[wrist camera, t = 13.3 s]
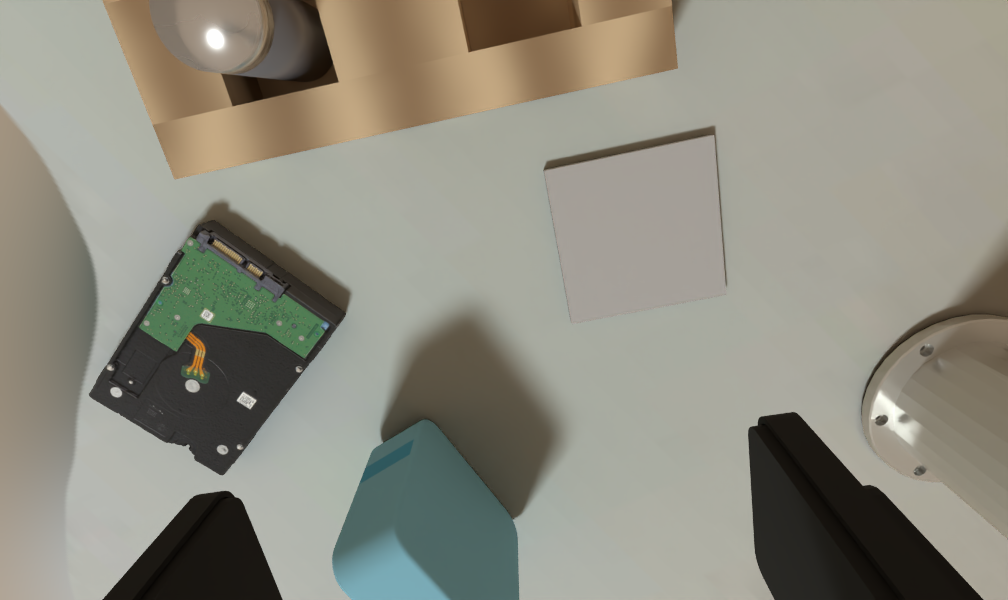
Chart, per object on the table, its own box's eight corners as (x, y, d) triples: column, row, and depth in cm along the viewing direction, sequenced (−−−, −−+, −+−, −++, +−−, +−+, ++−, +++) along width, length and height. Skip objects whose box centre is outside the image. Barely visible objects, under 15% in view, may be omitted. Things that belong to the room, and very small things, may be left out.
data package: (374, 439, 40) (321, 573, 28) (425, 409, 39) (391, 535, 27) (470, 548, 43) (457, 708, 32) (518, 522, 42) (523, 677, 31)
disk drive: (243, 454, 41) (350, 309, 37) (224, 479, 38) (338, 326, 34) (113, 377, 39) (212, 214, 34) (84, 398, 36) (187, 224, 32)
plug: (322, -7, 29) (234, -61, 20) (345, 73, 30) (273, 59, 21) (251, 11, 29) (130, -33, 20) (277, 89, 31) (175, 82, 21)
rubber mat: (710, 134, 32) (714, 134, 32) (723, 291, 36) (726, 294, 35) (543, 169, 33) (544, 170, 32) (570, 320, 36) (571, 323, 36)
